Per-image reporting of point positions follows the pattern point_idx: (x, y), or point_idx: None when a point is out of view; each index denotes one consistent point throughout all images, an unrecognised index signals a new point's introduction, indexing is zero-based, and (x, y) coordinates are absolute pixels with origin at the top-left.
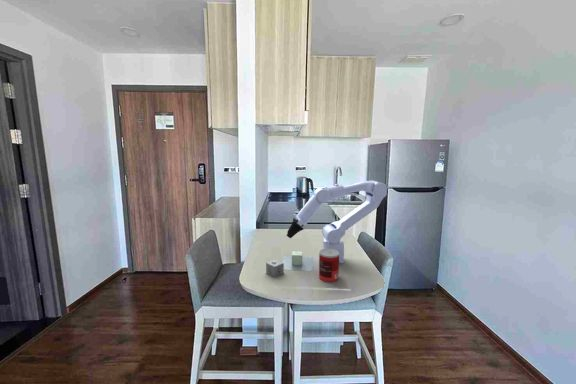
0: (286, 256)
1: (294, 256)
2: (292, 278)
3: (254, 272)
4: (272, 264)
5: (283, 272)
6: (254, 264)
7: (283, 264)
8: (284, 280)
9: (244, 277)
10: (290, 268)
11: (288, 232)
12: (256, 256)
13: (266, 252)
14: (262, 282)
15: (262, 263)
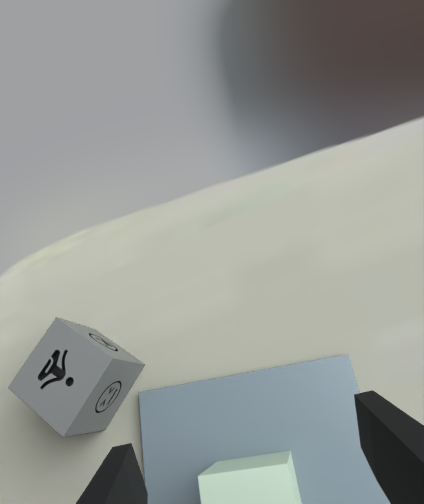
0: (353, 383)
1: (204, 500)
2: (62, 500)
3: (105, 265)
4: (35, 365)
5: (97, 430)
6: (192, 226)
7: (68, 434)
8: (38, 454)
9: (55, 244)
10: (163, 463)
11: (88, 488)
12: (300, 189)
13: (388, 216)
14: (15, 342)
15: (215, 260)
